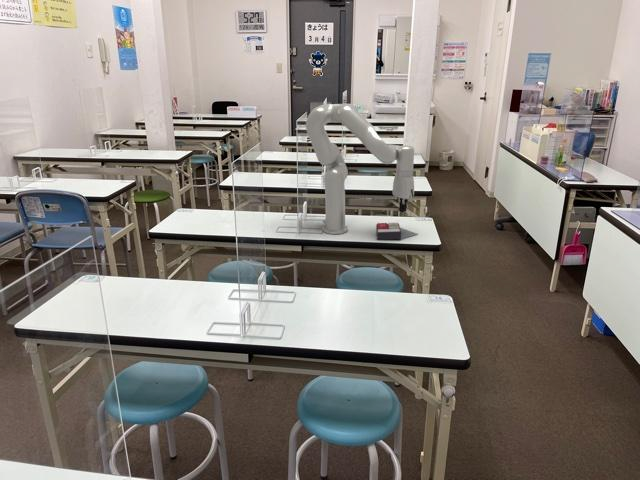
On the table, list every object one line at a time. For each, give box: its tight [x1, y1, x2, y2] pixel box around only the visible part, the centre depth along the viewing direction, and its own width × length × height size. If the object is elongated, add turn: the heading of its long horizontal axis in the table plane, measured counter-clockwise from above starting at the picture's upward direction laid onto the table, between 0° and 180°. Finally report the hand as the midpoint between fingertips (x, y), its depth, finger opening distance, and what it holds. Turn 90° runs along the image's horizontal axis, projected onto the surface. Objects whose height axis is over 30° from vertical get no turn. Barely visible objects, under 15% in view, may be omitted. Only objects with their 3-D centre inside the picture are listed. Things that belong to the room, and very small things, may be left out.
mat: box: [400, 227, 419, 241], centre depth 228 cm, size 12×11×1 cm
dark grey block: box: [375, 222, 401, 241], centre depth 227 cm, size 11×4×15 cm
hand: (402, 211), depth 225 cm, fingers closed
